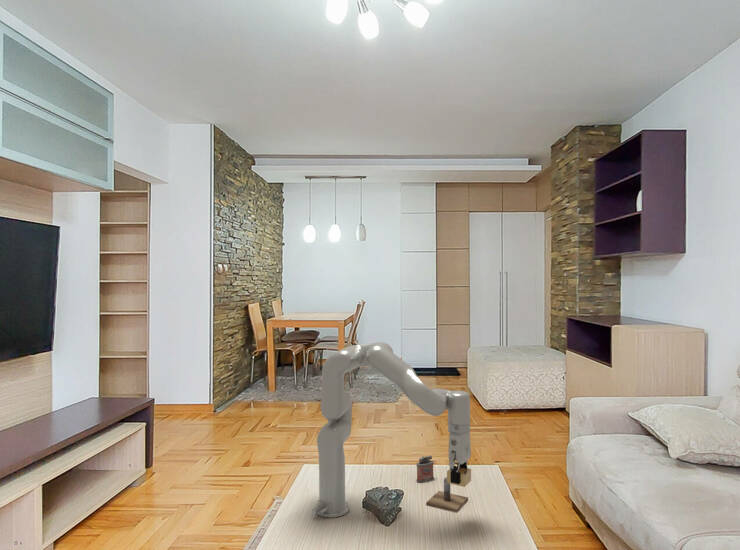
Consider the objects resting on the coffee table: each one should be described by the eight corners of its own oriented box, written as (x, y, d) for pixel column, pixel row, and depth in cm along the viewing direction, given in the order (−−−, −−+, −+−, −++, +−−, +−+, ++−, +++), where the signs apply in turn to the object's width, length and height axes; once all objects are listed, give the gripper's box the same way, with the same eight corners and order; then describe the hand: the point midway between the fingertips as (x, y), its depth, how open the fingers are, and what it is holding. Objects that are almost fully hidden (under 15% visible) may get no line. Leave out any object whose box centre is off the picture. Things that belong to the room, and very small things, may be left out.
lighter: (419, 483, 205) (419, 459, 205) (415, 480, 208) (414, 457, 208) (435, 480, 208) (435, 456, 209) (430, 477, 211) (430, 453, 212)
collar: (464, 487, 167) (464, 475, 167) (446, 483, 170) (446, 471, 170) (471, 480, 172) (471, 468, 172) (453, 476, 175) (453, 465, 175)
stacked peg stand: (456, 512, 179) (456, 486, 179) (426, 505, 185) (425, 479, 185) (467, 500, 189) (467, 475, 189) (438, 493, 195) (438, 469, 195)
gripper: (460, 435, 162) (460, 491, 162) (477, 423, 177) (477, 473, 176) (439, 432, 166) (439, 486, 165) (457, 420, 181) (457, 469, 180)
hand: (459, 479), depth 171 cm, fingers closed on collar, 6 cm apart
